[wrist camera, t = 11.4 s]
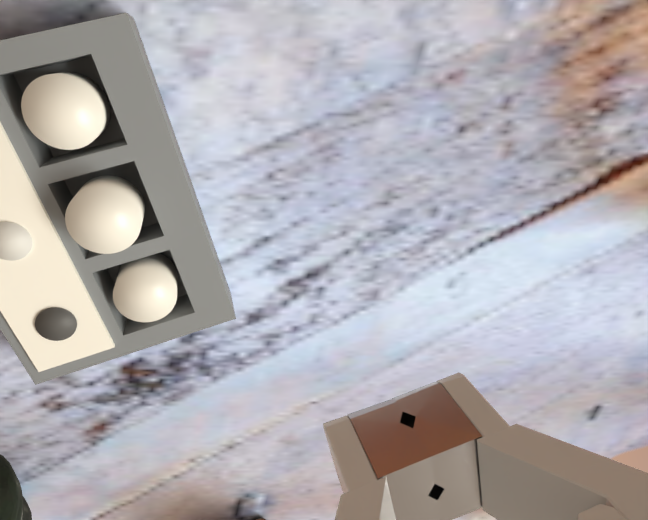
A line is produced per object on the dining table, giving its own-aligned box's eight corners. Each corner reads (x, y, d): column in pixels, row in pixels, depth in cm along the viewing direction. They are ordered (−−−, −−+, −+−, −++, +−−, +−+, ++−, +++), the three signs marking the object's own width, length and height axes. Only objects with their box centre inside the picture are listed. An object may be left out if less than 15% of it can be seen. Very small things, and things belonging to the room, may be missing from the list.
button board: (133, 18, 28) (125, 12, 24) (230, 293, 37) (236, 321, 33) (-116, 73, 26) (-169, 76, 22) (50, 351, 35) (33, 388, 31)
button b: (130, 167, 29) (125, 179, 26) (154, 226, 31) (151, 242, 28) (64, 185, 28) (52, 199, 26) (92, 244, 30) (83, 262, 27)
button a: (93, 64, 28) (84, 65, 25) (120, 131, 29) (114, 139, 27) (23, 81, 27) (6, 84, 24) (55, 148, 29) (42, 158, 26)
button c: (166, 244, 33) (164, 260, 30) (185, 291, 35) (185, 311, 32) (109, 261, 32) (102, 279, 30) (131, 308, 34) (127, 330, 31)
